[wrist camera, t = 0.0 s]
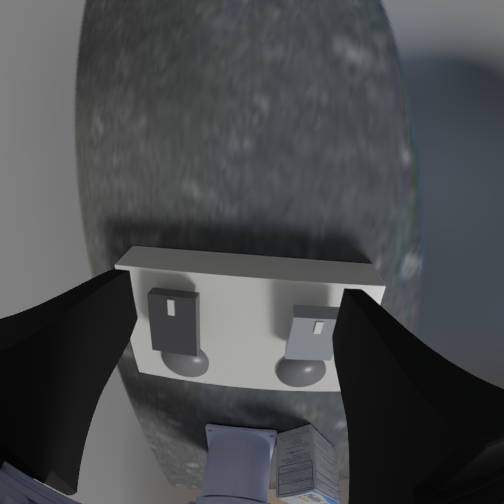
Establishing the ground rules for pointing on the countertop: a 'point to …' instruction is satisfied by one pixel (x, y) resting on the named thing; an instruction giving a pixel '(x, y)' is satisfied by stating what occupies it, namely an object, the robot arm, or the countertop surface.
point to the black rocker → (174, 321)
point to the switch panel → (242, 314)
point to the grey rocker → (311, 333)
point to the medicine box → (306, 468)
